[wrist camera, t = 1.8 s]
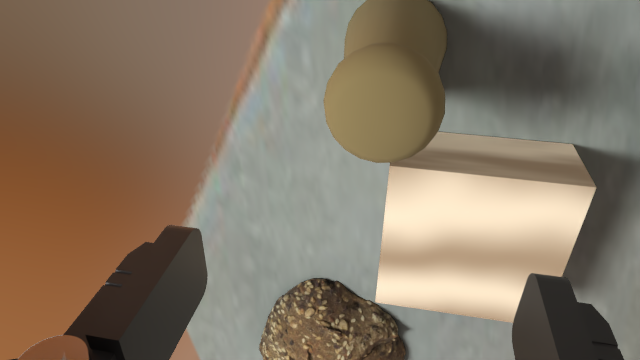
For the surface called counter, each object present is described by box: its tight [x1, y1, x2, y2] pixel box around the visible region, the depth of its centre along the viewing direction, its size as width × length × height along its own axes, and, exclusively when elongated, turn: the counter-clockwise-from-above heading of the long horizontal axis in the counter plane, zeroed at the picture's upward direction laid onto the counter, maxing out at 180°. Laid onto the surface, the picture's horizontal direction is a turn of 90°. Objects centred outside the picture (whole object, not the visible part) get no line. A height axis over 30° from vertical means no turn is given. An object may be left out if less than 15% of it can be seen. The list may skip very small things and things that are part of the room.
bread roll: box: [259, 278, 406, 360], centre depth 41 cm, size 13×12×5 cm
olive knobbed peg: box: [324, 0, 447, 163], centre depth 24 cm, size 6×6×11 cm
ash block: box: [375, 132, 597, 323], centre depth 31 cm, size 11×11×5 cm
